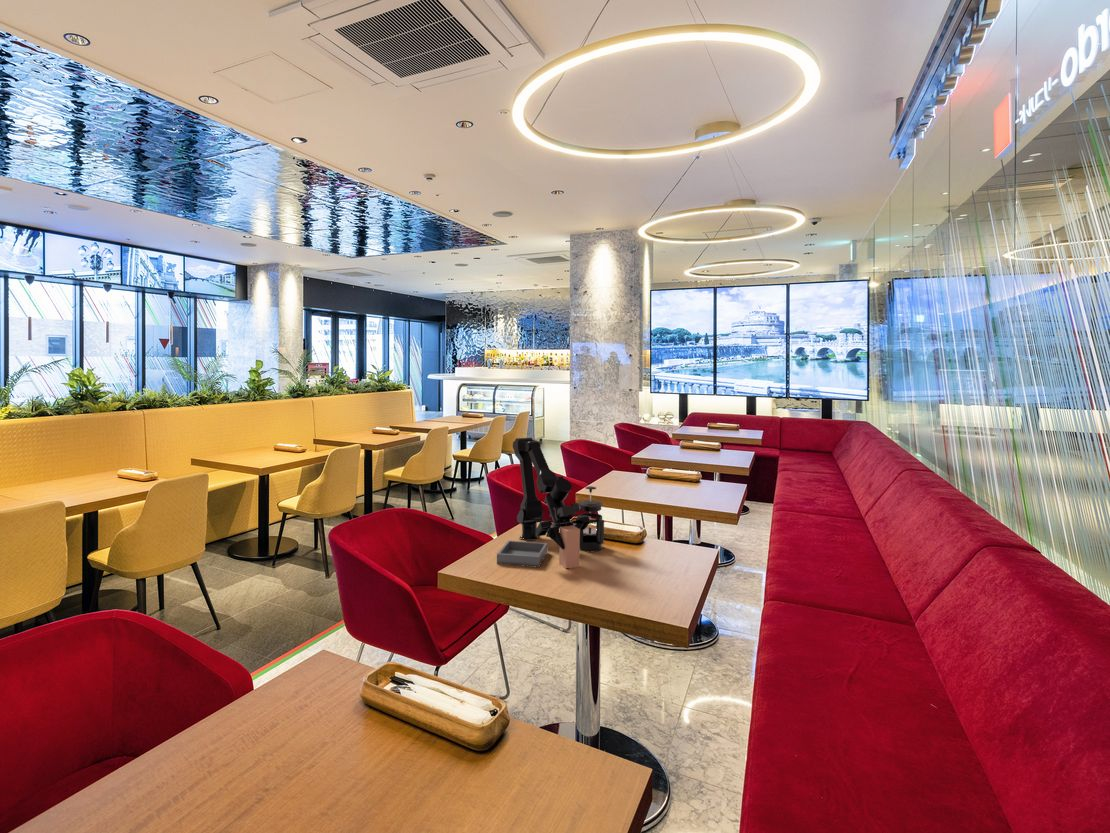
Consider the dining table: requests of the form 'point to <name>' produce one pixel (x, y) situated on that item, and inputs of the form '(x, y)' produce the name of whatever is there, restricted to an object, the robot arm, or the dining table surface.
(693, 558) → the dining table surface
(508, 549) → the tray
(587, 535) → the french press
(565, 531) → the terracotta block
